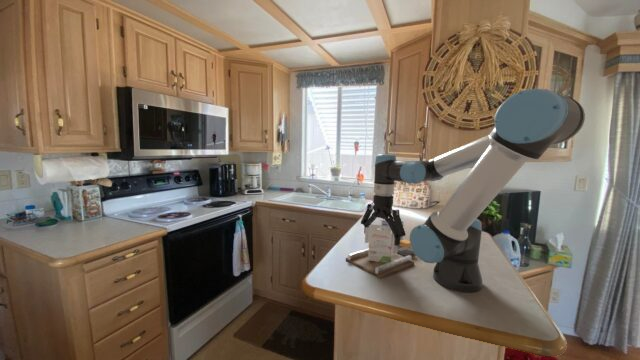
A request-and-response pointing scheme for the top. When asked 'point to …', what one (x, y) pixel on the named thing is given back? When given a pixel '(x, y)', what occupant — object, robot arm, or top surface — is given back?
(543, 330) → the top surface
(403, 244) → the snap latch
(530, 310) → the top surface
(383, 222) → the light bulb box
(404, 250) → the latch housing
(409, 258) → the steel rails
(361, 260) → the rail board
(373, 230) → the ink box
